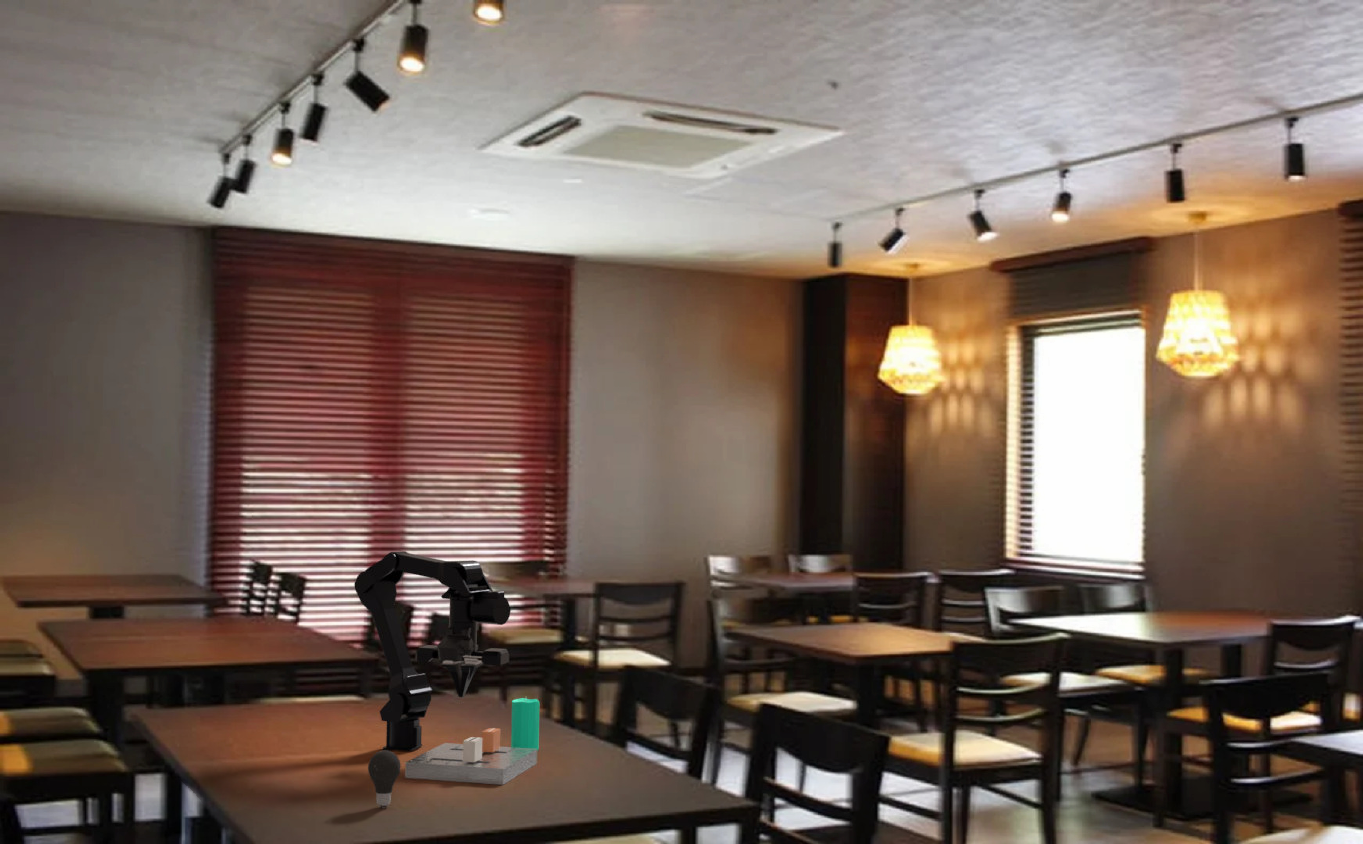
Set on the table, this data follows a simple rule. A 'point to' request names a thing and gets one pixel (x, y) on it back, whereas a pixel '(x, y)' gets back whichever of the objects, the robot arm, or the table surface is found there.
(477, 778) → the grey slider board
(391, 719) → the robot arm
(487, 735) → the fader orange
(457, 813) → the table surface
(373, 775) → the light bulb
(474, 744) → the fader cream
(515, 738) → the candle
